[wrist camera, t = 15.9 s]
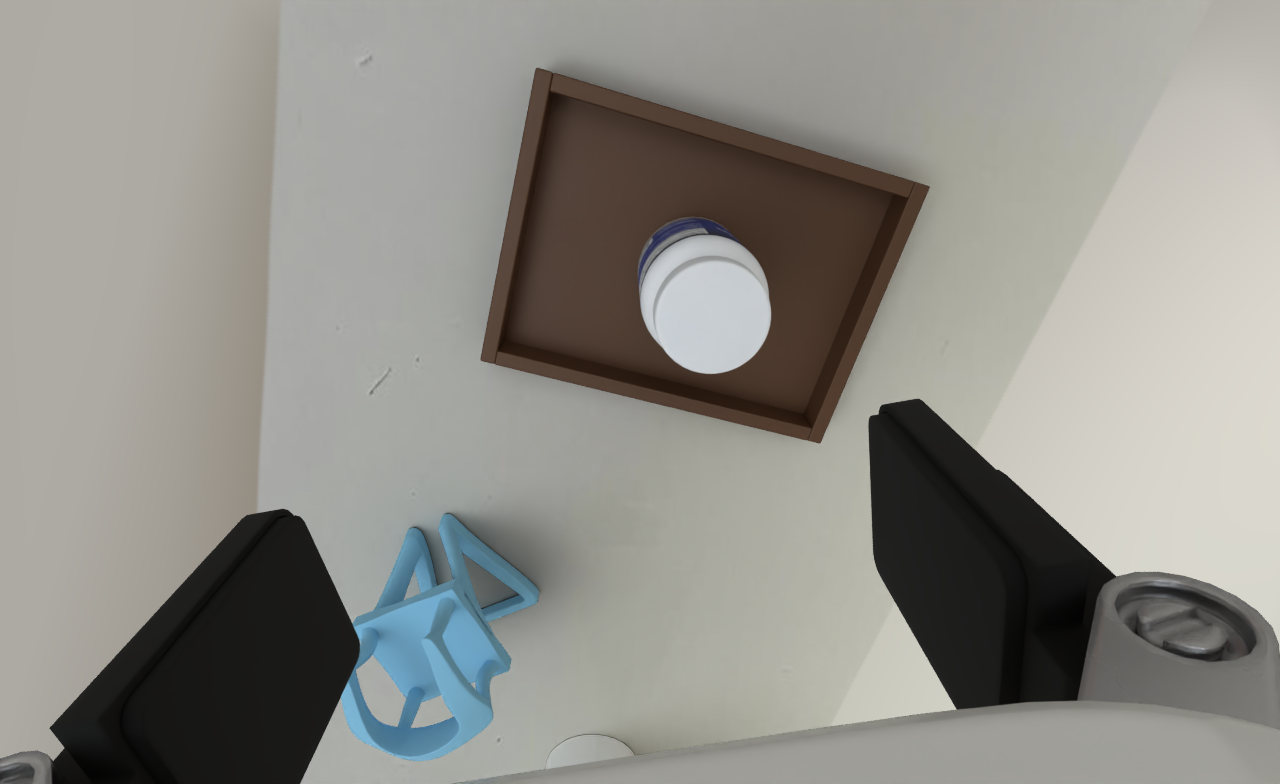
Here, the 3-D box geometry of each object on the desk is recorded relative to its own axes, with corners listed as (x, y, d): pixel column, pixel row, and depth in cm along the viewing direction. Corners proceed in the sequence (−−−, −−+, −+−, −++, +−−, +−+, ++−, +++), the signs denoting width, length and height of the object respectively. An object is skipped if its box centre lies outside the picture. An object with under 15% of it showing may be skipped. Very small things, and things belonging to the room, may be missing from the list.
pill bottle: (760, 288, 35) (808, 347, 26) (668, 337, 36) (682, 411, 27) (713, 193, 33) (747, 220, 24) (617, 248, 34) (614, 294, 25)
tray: (489, 346, 37) (479, 361, 34) (542, 71, 31) (535, 67, 29) (809, 425, 39) (820, 444, 37) (909, 182, 34) (930, 186, 31)
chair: (481, 498, 40) (427, 639, 29) (541, 594, 44) (513, 754, 32) (376, 541, 42) (286, 692, 30) (442, 631, 45) (382, 799, 33)
